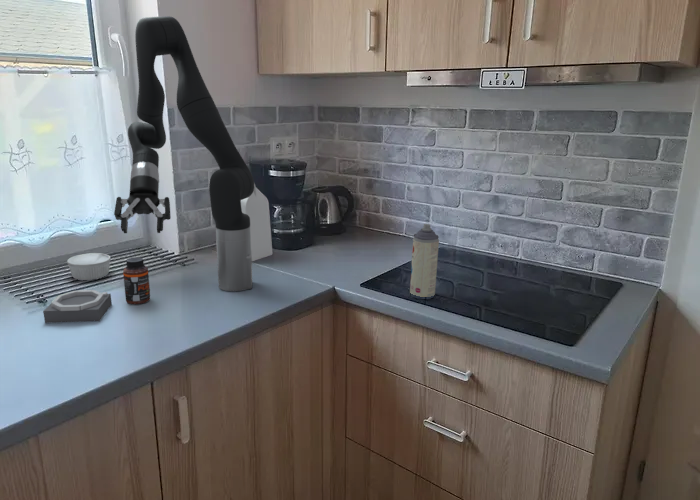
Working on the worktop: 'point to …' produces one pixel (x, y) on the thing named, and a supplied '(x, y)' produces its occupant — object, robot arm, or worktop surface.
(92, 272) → the ramekin
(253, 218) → the milk
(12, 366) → the worktop surface
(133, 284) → the supplement bottle
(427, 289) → the aerosol can
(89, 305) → the octagonal shallow tray
